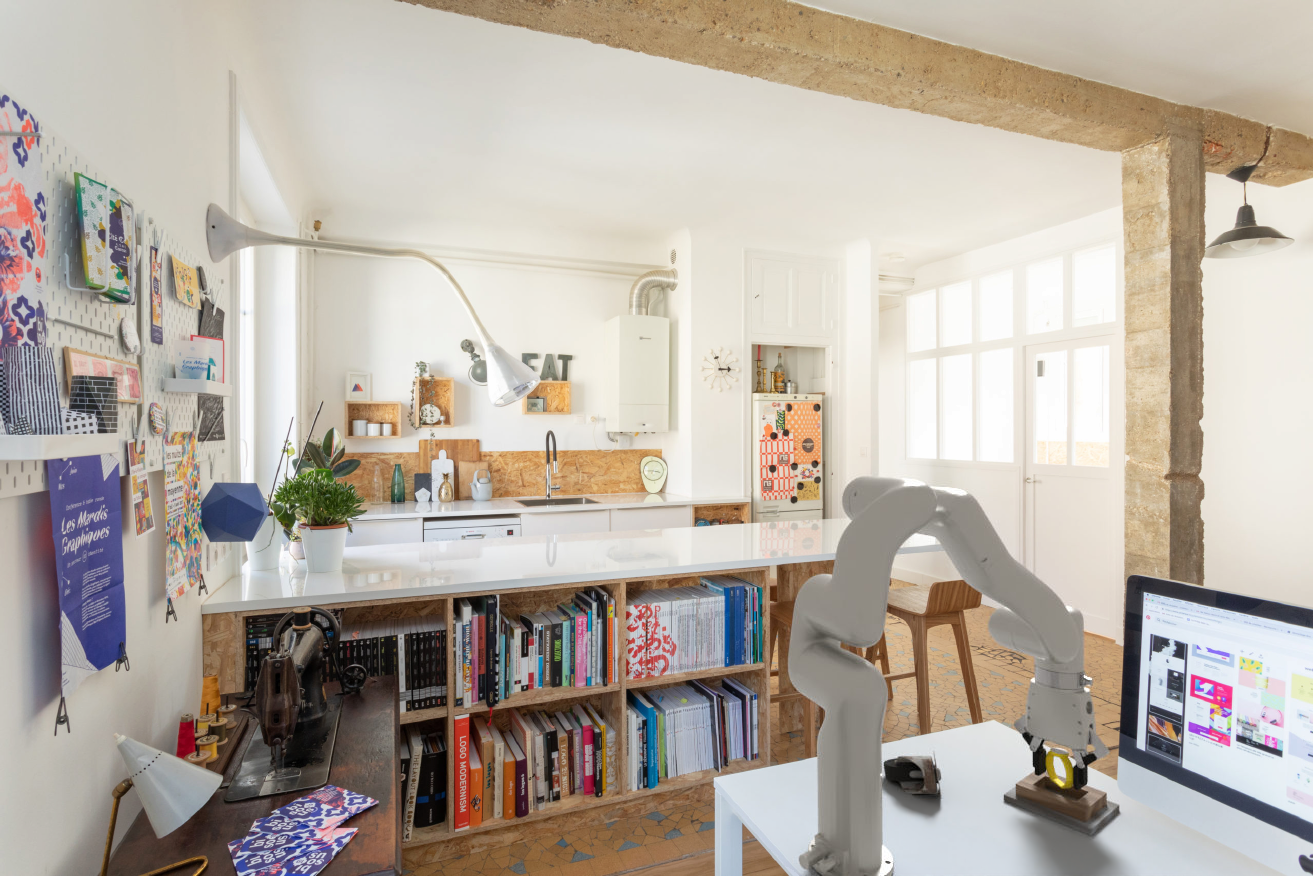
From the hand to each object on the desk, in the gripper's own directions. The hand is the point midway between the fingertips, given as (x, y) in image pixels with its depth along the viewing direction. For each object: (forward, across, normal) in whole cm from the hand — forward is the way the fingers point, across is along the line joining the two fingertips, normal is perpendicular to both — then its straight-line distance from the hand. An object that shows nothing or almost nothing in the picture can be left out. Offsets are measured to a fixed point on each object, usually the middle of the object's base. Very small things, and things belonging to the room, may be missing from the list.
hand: (1059, 779), depth 120 cm
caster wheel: (+5, +20, +14) cm, 25 cm away
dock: (+5, 0, 0) cm, 5 cm away
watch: (+1, 0, 0) cm, 1 cm away
